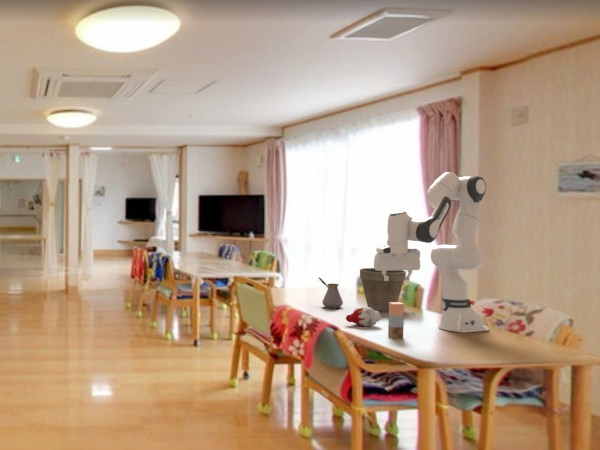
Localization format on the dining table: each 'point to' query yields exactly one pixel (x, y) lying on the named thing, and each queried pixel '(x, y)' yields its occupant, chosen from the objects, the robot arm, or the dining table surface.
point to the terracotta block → (396, 308)
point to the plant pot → (381, 287)
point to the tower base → (395, 332)
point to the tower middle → (396, 321)
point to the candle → (364, 316)
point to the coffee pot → (332, 296)
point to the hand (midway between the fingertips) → (396, 280)
